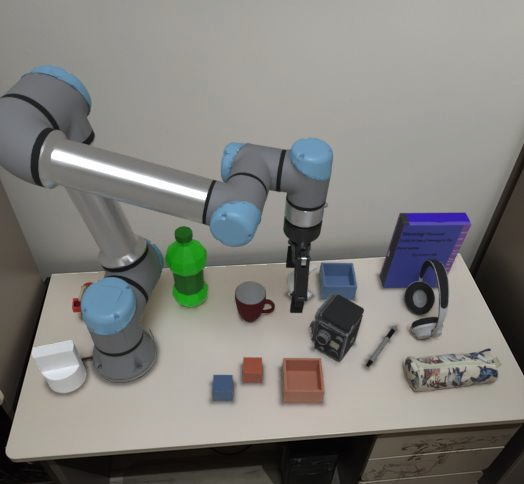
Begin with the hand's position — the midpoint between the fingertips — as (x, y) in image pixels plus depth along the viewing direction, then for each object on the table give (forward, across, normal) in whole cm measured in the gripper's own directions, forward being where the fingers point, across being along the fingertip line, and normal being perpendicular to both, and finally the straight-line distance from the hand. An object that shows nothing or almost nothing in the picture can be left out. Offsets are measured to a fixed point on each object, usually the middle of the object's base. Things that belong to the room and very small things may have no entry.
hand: (293, 288), depth 111 cm
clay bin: (+21, -13, -3) cm, 25 cm away
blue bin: (+21, +19, -16) cm, 32 cm away
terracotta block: (+21, -10, +9) cm, 25 cm away
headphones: (+21, +6, -37) cm, 43 cm away
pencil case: (+21, -12, -39) cm, 46 cm away
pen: (+21, -2, -25) cm, 33 cm away
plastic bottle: (+22, +15, +26) cm, 37 cm away
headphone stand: (+21, +16, -5) cm, 27 cm away
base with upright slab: (+22, -10, +54) cm, 59 cm away
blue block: (+21, -15, +16) cm, 31 cm away
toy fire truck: (+22, +11, +53) cm, 58 cm away
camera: (+21, -1, -11) cm, 24 cm away
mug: (+21, +8, +8) cm, 24 cm away
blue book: (+21, +21, -38) cm, 48 cm away
